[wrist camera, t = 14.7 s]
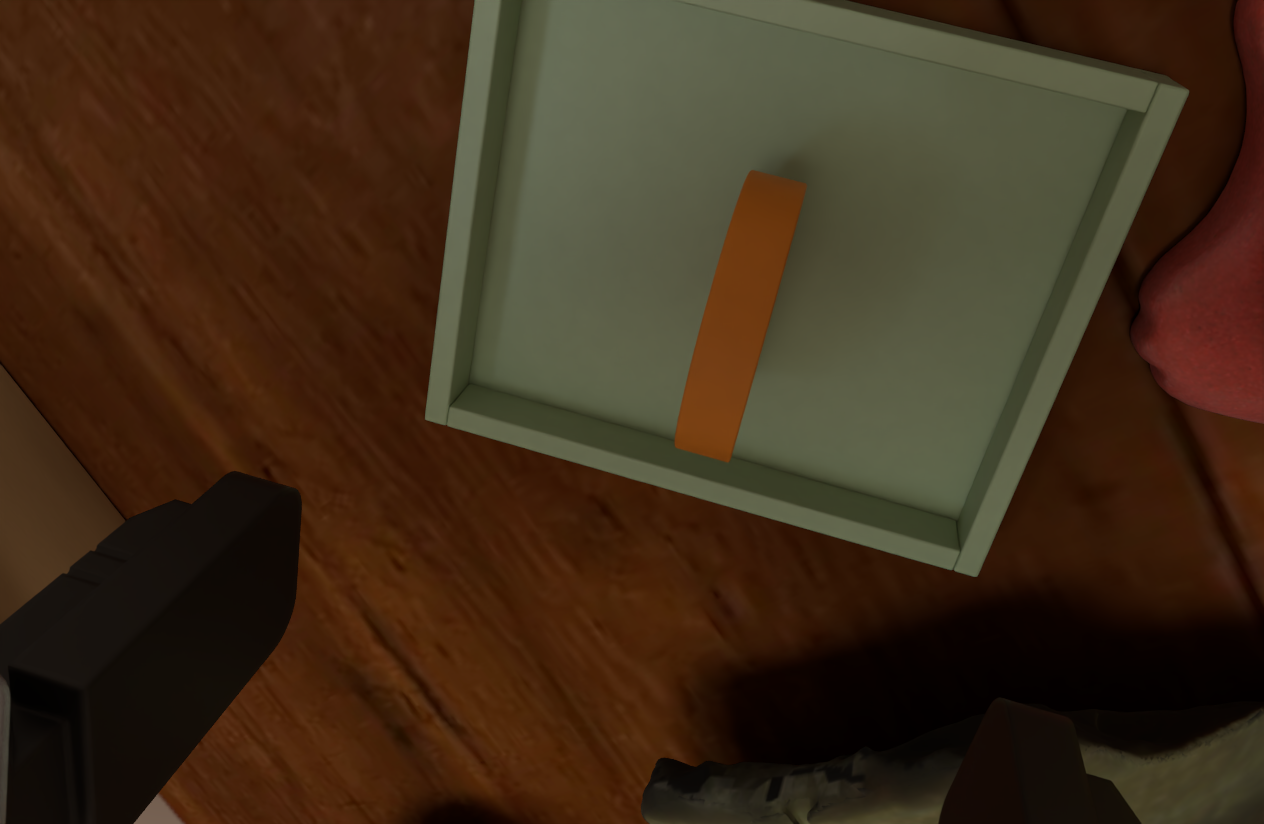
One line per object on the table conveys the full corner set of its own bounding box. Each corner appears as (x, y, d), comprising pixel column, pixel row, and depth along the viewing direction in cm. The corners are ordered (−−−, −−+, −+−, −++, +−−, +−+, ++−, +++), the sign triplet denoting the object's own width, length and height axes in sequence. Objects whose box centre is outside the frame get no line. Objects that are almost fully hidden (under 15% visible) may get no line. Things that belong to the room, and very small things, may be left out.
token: (708, 359, 26) (656, 503, 22) (764, 130, 23) (719, 240, 18) (754, 371, 26) (713, 519, 21) (818, 143, 23) (787, 257, 18)
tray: (450, 390, 28) (423, 420, 27) (512, -79, 23) (483, -77, 21) (971, 537, 27) (977, 578, 25) (1167, 75, 22) (1191, 90, 20)
